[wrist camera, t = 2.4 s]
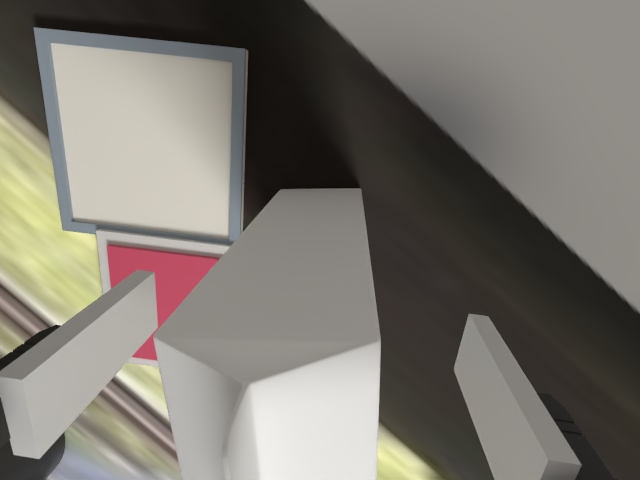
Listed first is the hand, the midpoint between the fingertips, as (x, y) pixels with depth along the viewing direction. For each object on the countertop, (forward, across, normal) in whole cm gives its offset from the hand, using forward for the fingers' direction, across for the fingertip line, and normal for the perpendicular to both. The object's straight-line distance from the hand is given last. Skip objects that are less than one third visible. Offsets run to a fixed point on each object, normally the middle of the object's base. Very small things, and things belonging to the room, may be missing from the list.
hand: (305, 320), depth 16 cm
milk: (+14, 0, 0) cm, 14 cm away
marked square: (+13, -14, +4) cm, 19 cm away
